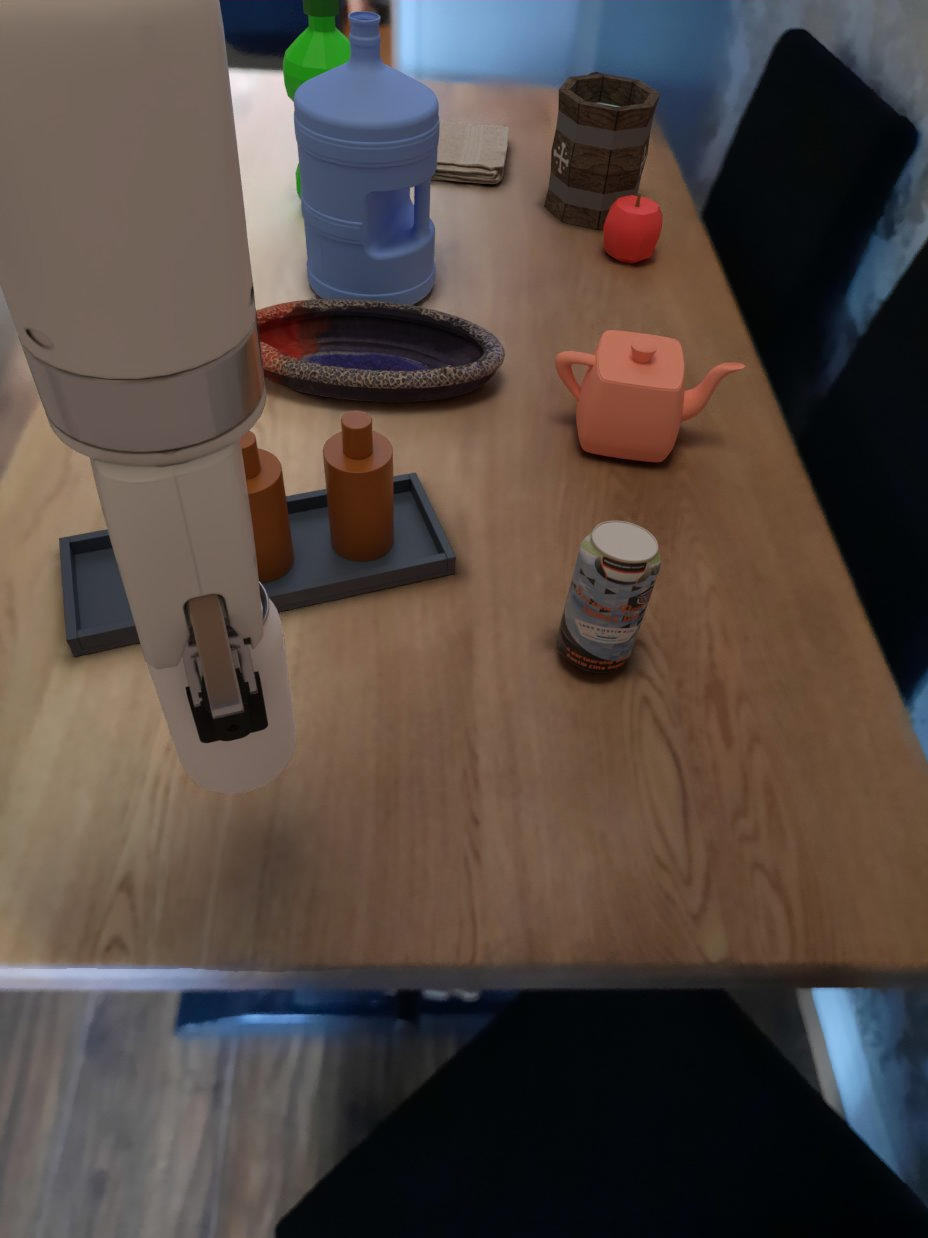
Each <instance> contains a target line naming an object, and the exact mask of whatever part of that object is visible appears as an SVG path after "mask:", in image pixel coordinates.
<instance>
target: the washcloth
mask: <svg viewBox="0 0 928 1238" xmlns="http://www.w3.org/2000/svg"><path fill="white" fill-rule="evenodd" d="M439 122H440V128H439V143H438V150H437V168H436V171H435V173H434V174H433V176H432V177H431V181H445V182H447V181H448V182H458V183H470V184H471V183H472V184H485V185H495V184H499V183H500V182H501V181H502V180H503V178H504V173H505V164H506V157H507V151H508V143H509V132H510V127H509V126H505V125H496V124H488V123H487V124H471V125H470V124H469V123H463V122H462V123H461V122H452V121H440V120H439Z"/></svg>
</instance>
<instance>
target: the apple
mask: <svg viewBox="0 0 928 1238" xmlns="http://www.w3.org/2000/svg"><path fill="white" fill-rule="evenodd" d="M663 216H664V215H663V212H662V210H661V208H660V205H659V204H658V203H657V202H656V201H654V200H652V199H651V198H650V197H645V196H642V194H641V193H638V196H634V195H630V196H625V197H621V198H618V199H617V200H616V201H615V202H614V203H613V204H612V205H611V207H610V210H609V212H608V215H607V218H606V221H605V224H604V226H603V229H602V230H603V231H602V233H603V235H602V236H603V240H602V241H603V250H604V251H605V252H606V253H607V254H608V255H609V256H610V257H612V259H613V258H614V259H615V260H617V261H618V262H622V263H626V264H630V265H631V264H635V263H638V262H641V261H644V260H646V259H649V258H652V255H653V253H654V252H655V251H654V250H655V248H656V246H657V244H658V242H659V239H660V238H661V233H662V229H663V218H664V217H663Z"/></svg>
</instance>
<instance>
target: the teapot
mask: <svg viewBox="0 0 928 1238" xmlns="http://www.w3.org/2000/svg"><path fill="white" fill-rule="evenodd" d="M684 359H685V358H684V352H683V349H682V345H681V343H680V342H679V341H678V340H677V339H676V338H673V337H668V336H662V335H657V334H656V335H655V334H649V333H642V332H634V331H627V330H618V329H617V330H615V329H608V330H605V331H604V332H603V334H602V335H601V337H600V338H599V340H598V343H597V345H596V347H595V350H594V351H593V353H588V352H582V351H577V350H576V351H575V350H564V351H561V352H559V353H558V354H556V357H555V359H554V365H555V370H556V373H557V375H558V376H559V378H560V380H561V382H562V384H563V385H564V386H565V387H566V389H567V390H568V391H569V392H570V394H571V395H572V396H573V397H574V398H575V400H576V407H575V421H576V422H575V423H576V429H577V436H578V437H577V438H578V441H579V445H580V447H581V449H582V450H583V451H585V452H586V453H589V454H593V455H597V456H598V455H599V456H605V457H610V458H616V459H623V460H629V461H630V460H631V461H637V462H638V461H639V462H648V463H661V462H663V461H664V460H666V458H667V457H668V456H669V455H670V453H671V452H672V450H673V449H674V447H675V444H676V442H677V439H678V435H679V431H680V427H681V423H683V422H687V421H690V420H691V419H693V418H694V417H696V416H697V415H699V414H700V413H701V412H703V410H704V408H706V406H707V404H708V403H709V401H710V400H711V397H712V395H714V392H715V390H716V388H717V387H718V385H719V384H720V383H721V382H722V381H723V379H724V378H726V377H727V376H729V375H730V374H733V373H736V372H737V371H740V370H743V369H744V368H746V365H745V364H743V363H740V362H723V363H720V364H717V365H716V366H714V367H713V368H712V369H710V370H709V371H708V373H707V374H706V375H705V376H704V378H703V379H702V380H701V382H700V383H698V385H696V386H695V387H693V388H690V389H687V390H686V389H685V384H686V381H685V379H686V377H685V376H686V374H685V373H686V372H685V360H684ZM572 365H583V366H586V367H587V368H586V370H585V372H584V376H583V379H582V382H581V385H579V383H578V381H577V380H576V377H575V375H574V372H573V368H572Z"/></svg>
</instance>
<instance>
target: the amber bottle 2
mask: <svg viewBox="0 0 928 1238" xmlns="http://www.w3.org/2000/svg"><path fill="white" fill-rule="evenodd" d="M340 426H341V431H339V432H337V433H335V434H333V435H332V436H330V437H329V438H328V439H327V440H326V442H325V444H324V445H323V447H322V458H323V469H324V470H323V471H324V481H325V489H326V493H327V505H328V516H329V527H330V538H331V545H332V547H333V549H334V550H335V551H336V552H337V553H338V554H339V555H340V556H342V557H344V558H346V559H348V560H352V561H358V562H365V561H372V560H375V559H378V558H380V557H382V556H384V555H385V554H386V553H387V552H388V551H389V550H390V549H391V547H392V545H393V542H394V499H393V476H394V449H393V444H392V443H391V441H390V440H389V439H388V438H387V437H386V436H385V435H383V434H381V433H380V432H377V431H374V430H373V418H372V416H371V414H370V413H368V412H366V411H364V410H350V411H347V412H345V413H344V414H343V415H342V416H341V418H340Z"/></svg>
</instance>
